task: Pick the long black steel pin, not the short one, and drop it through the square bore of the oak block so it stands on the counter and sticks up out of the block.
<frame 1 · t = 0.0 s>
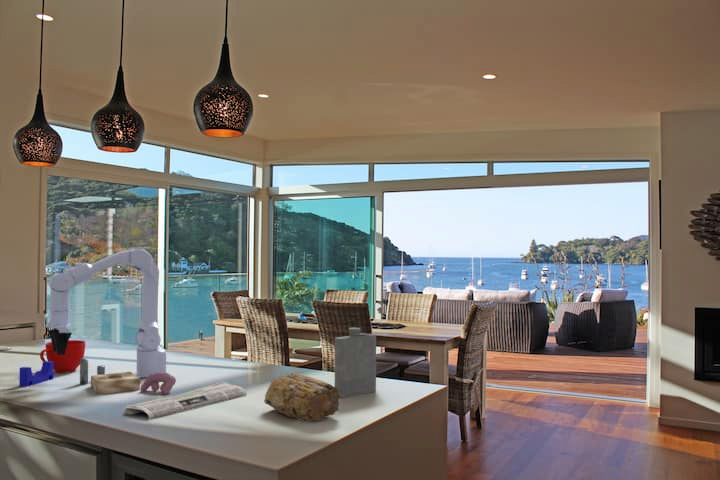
hand: (59, 353, 201), 10 cm above the kitchen island, fingers open, 7 cm apart
ceramic cup: (60, 372, 223), on the kitchen island
short pin: (100, 379, 209), on the kitchen island
cable clip: (34, 383, 205), on the kitchen island
pink textured arched piece: (158, 392, 192), on the kitchen island
hip flask: (354, 394, 190), on the kitchen island
petrified wood: (302, 416, 166), on the kitchen island
bore block: (115, 388, 197), on the kitchen island
long pin: (83, 383, 203), on the kitchen island
newspaper: (188, 405, 178), on the kitchen island
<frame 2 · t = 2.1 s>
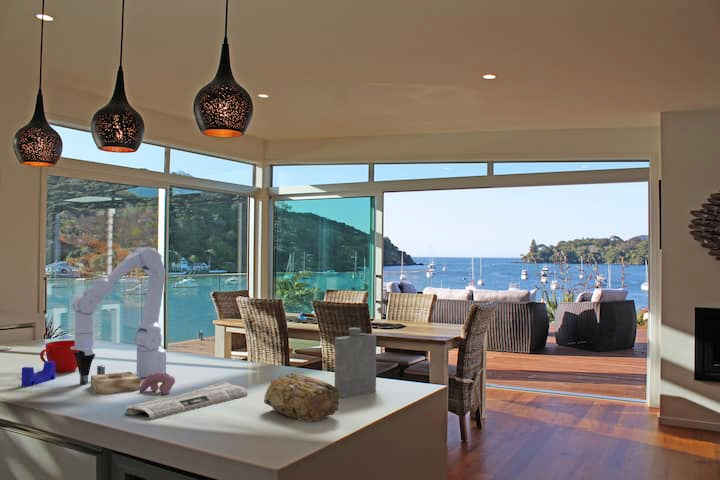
hand: (83, 374, 203), 3 cm above the kitchen island, fingers closed on long pin, 2 cm apart
long pin: (83, 383, 203), on the kitchen island, touching gripper
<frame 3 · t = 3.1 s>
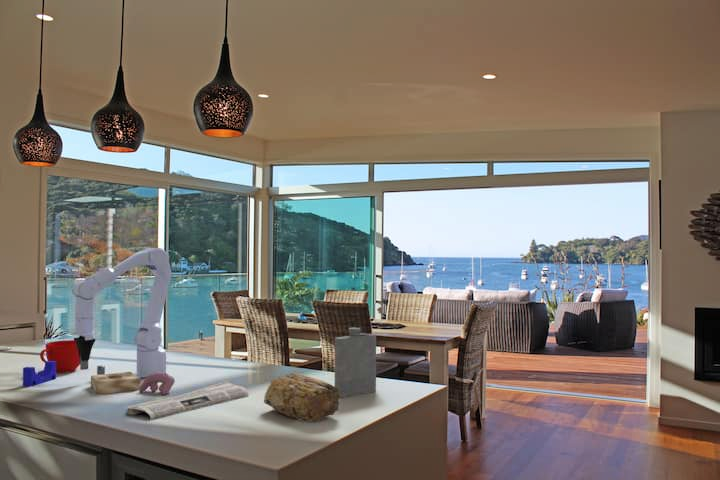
hand: (84, 359, 203), 8 cm above the kitchen island, fingers closed on long pin, 2 cm apart
long pin: (84, 369, 203), point 5 cm above the kitchen island, touching gripper
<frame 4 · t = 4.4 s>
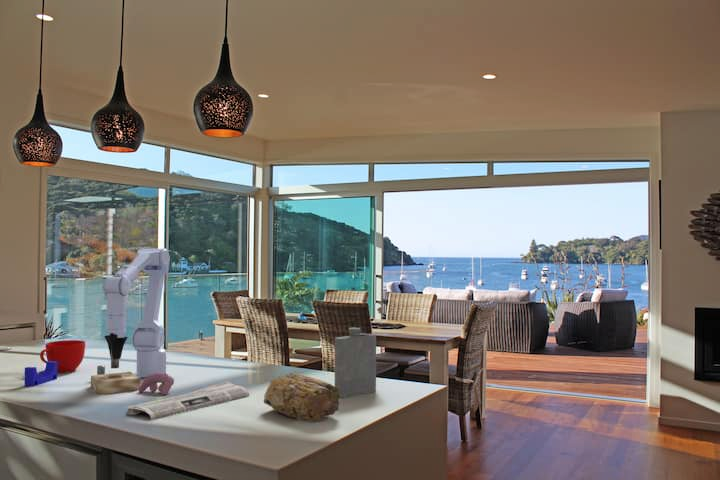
hand: (115, 358, 197), 9 cm above the kitchen island, fingers closed on long pin, 2 cm apart
long pin: (114, 367, 197), point 6 cm above the kitchen island, touching gripper
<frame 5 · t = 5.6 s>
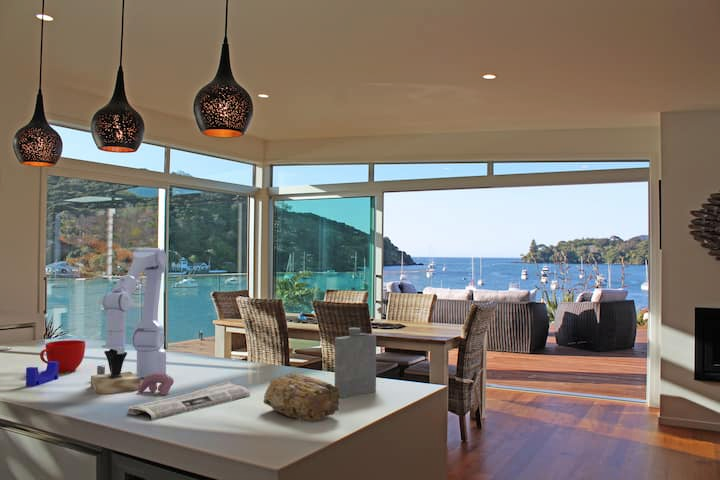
hand: (115, 373, 197), 4 cm above the kitchen island, fingers closed on long pin, 2 cm apart
long pin: (114, 383, 197), point 1 cm above the kitchen island, touching gripper
when the fingers open (4 cm above the kitchen island, at t = 6.4 s): long pin drops 1 cm, resting in bore block.
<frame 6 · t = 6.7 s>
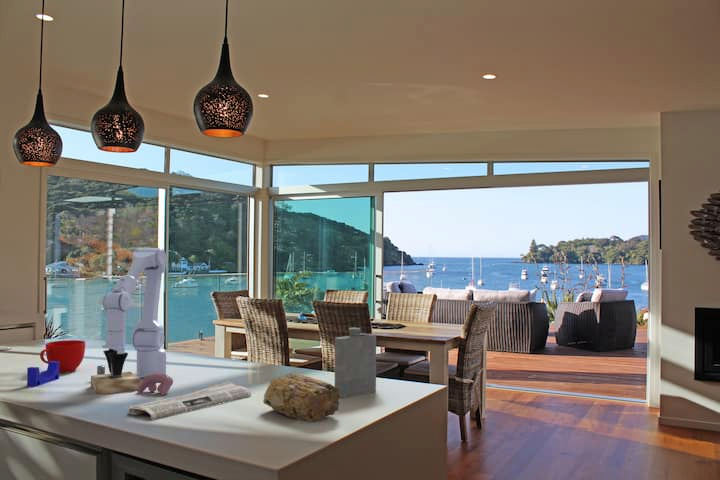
hand: (115, 373, 197), 4 cm above the kitchen island, fingers open, 5 cm apart
long pin: (114, 388, 197), resting in bore block
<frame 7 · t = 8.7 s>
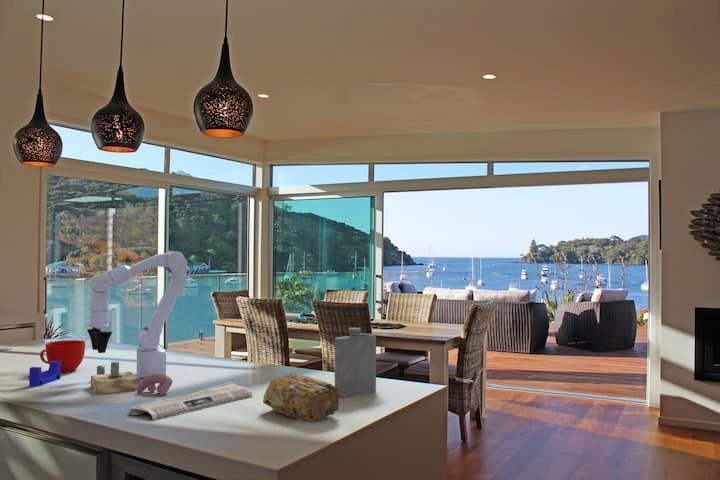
hand: (99, 351, 209), 9 cm above the kitchen island, fingers open, 7 cm apart
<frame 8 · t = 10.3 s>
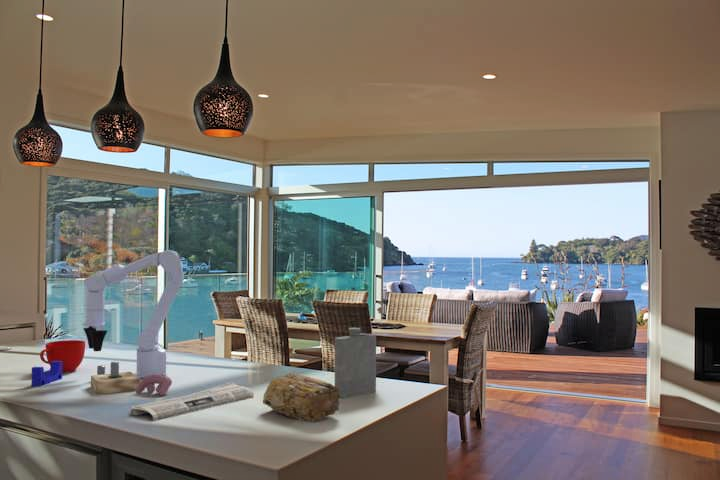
hand: (94, 349, 213), 9 cm above the kitchen island, fingers open, 7 cm apart
at the end: long pin 0.1 cm from the target spot, resting in bore block; long pin tilted 1°; short pin moved 0.0 cm from its start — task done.
